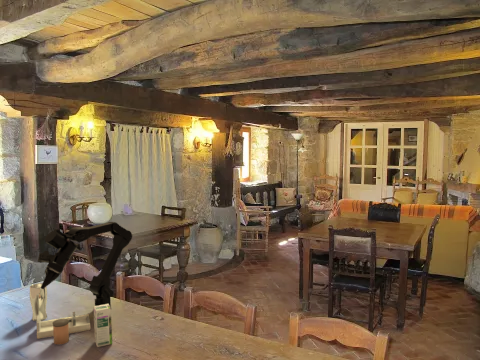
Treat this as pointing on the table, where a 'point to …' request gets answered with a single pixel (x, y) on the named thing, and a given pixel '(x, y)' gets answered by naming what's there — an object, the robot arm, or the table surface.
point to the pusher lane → (81, 323)
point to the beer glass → (38, 301)
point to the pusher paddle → (73, 319)
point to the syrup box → (102, 325)
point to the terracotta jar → (61, 331)
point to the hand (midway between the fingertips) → (42, 287)
